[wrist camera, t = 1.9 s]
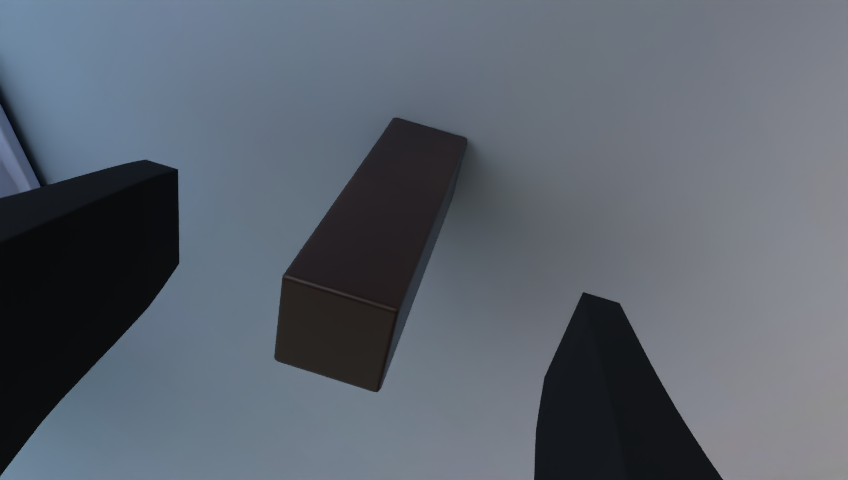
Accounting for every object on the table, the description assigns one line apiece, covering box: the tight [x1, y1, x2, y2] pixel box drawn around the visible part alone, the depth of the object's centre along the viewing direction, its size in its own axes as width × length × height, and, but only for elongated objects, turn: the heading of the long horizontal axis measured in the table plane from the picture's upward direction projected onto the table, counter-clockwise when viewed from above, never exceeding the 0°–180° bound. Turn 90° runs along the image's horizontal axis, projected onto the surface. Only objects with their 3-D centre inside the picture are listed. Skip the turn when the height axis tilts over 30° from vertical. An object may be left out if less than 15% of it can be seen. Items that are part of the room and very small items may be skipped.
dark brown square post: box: [274, 118, 467, 392], centre depth 12 cm, size 2×2×6 cm
